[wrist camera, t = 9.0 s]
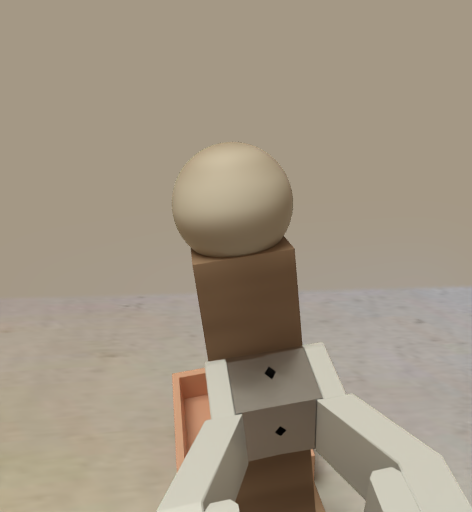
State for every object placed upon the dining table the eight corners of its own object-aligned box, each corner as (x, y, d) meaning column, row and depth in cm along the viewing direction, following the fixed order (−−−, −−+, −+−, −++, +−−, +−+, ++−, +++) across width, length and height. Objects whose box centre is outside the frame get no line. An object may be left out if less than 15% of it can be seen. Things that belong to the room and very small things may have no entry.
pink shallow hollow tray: (313, 480, 34) (314, 455, 32) (184, 507, 34) (177, 483, 32) (282, 379, 43) (281, 354, 41) (178, 398, 42) (172, 373, 40)
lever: (452, 703, 17) (495, 111, 10) (146, 781, 16) (-61, 188, 9) (332, 445, 29) (312, 109, 22) (159, 480, 28) (80, 140, 21)
